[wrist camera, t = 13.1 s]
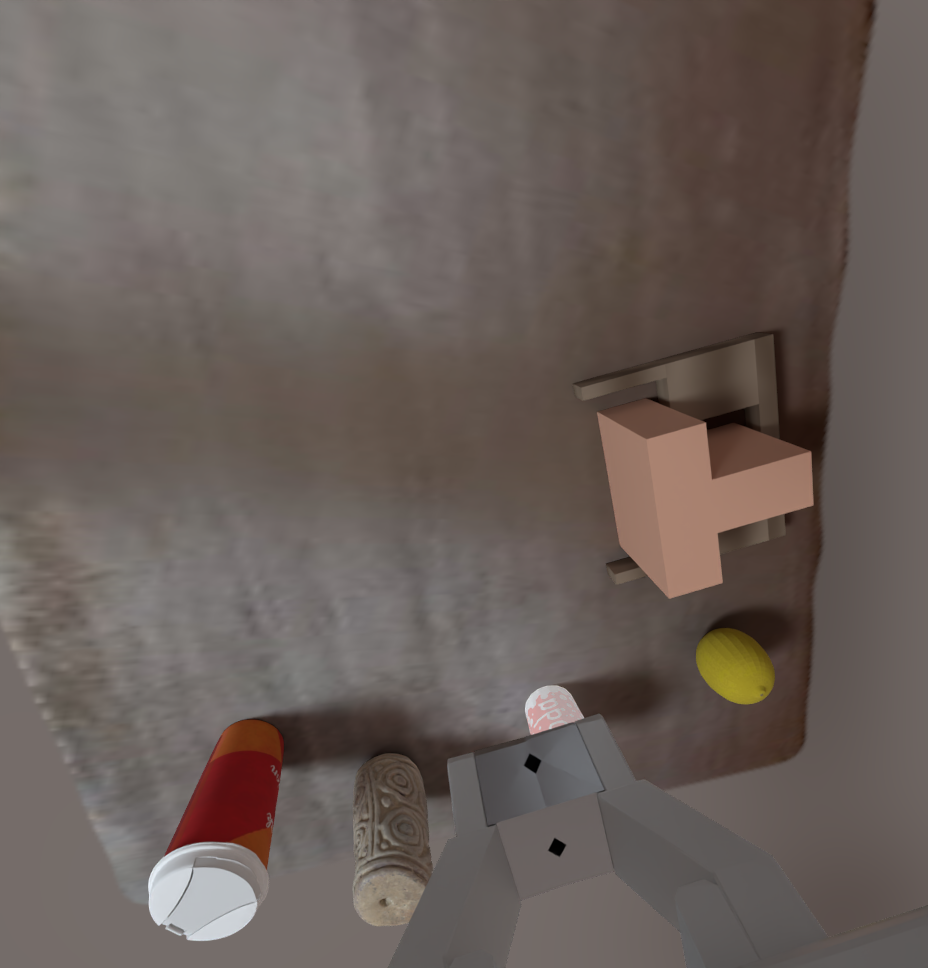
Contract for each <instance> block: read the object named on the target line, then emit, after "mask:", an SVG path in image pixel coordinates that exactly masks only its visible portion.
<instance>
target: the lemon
mask: <svg viewBox="0 0 928 968" xmlns="http://www.w3.org/2000/svg"><path fill="white" fill-rule="evenodd" d="M696 662H697V666H698V669H699V671H700V673H701V675H702V677H703V678H704V679H705V681H706V682H707V683H708V685H709V686H710V687H711V688H712V689H713V690H714V691H716V692H717V693H718V694H720V695H721V696H723V697H724V698H726V699H727V700H729V701H732V702H735V703H738V704H753V703H756V702H759V701H761V700H763V699H764V698H765V697H766V696H768V694H769V693H770V692H771V690H772V688H773V686H774V680H775V673H774V668H773V665H772V663H771V660H770V658H769V657H768V655H767V653H766V652H765V651H764V649H763V648H762V647H761V646H760V645H759V644H758V643H757V642H756V641H755V640H754V639H753V638H752V637H750V636H748V635H747V634H745V633H743V632H741V631H739V630H736V629H731V628H719V629H715V630H712V631H710V632H708V633H707V634H706V635H705V636H704V637H703V638H702V639H701V640H700V642H699V644H698V646H697V650H696Z"/></svg>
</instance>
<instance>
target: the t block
mask: <svg viewBox="0 0 928 968" xmlns="http://www.w3.org/2000/svg"><path fill="white" fill-rule="evenodd" d="M597 414H598V420H599V426H600V432H601V438H602V444H603V449H604V455H605V461H606V467H607V473H608V478H609V484H610V490H611V496H612V502H613V508H614V513H615V519H616V525H617V531H618V537H619V542H620V546H621V547H622V548H623V549H624V550H625V551H626V553H627V554H628V555H629V556H630V557H631V558H632V559H633V560H634V561H635V562H636V563H637V564H638V565H639V567H640V568H641V569H642V570H643V571H644V572H645V573H646V574H647V575H648V576H649V577H650V578H651V580H652V581H653V582H654V583H655V584H656V585H657V586H658V587H659V588H660V589H661V590H662V591H663V592H664V594H665V595H666V596H667V597H668V598H669V599H670V598H673V597H676V596H680V595H683V594H687V593H690V592H693V591H697V590H700V589H704V588H707V587H710V586H714V585H717V584H721V583H723V581H722V571H721V562H720V552H719V543H718V533H720V532H723V531H727V530H730V529H733V528H737V527H740V526H744V525H747V524H751V523H754V522H758V521H761V520H764V519H768V518H771V517H775V516H778V515H782V514H785V513H788V512H792V511H795V510H799V509H802V508H806V507H809V506H812V505H813V484H812V459H811V451H809V450H806V449H804V448H801V447H798V446H795V445H793V444H790V443H787V442H785V441H782V440H779V439H777V438H774V437H771V436H769V435H766V434H763V433H761V432H758V431H755V430H752V429H750V428H747V427H744V426H742V425H739V424H736V423H730V424H727V425H723V426H720V427H716V428H713V429H709V430H707V428H706V422H703V421H701V420H698V419H696V418H693V417H691V416H688V415H686V414H683V413H681V412H679V411H676V410H674V409H671V408H669V407H666V406H664V405H661V404H659V403H656V402H654V401H651V400H649V399H646V398H644V399H641V400H637V401H634V402H630V403H626V404H623V405H619V406H616V407H612V408H608V409H605V410H601V411H598V412H597Z"/></svg>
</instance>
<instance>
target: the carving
mask: <svg viewBox="0 0 928 968" xmlns="http://www.w3.org/2000/svg"><path fill="white" fill-rule="evenodd" d="M427 818H428V811H427V800H426V794H425V789H424V784H423V779H422V777H421V774H420V771H419V769H418V768H417V766H416V765H415V764H414V763H413V762H412V761H411V760H410V759H409V758H408V757H406V756H403V755H400V754H394V753H385V754H382V755H379V756H377V757H374V758H372V759H370V760H369V761H367V762H366V763H365V764H363V765H362V766H361V767H360V769H359V770H358V772H357V774H356V777H355V783H354V800H353V819H354V821H353V830H354V856H355V860H356V863H355V865H356V867H355V877H354V882H353V903H354V907H355V910H356V911H357V913H358V914H359V916H360V917H361V918H362V919H363V920H364V921H365V922H367V923H369V924H371V925H374V926H396V925H402V924H406V923H409V921H410V919H411V917H412V915H413V913H414V911H415V909H416V907H417V905H418V902H419V900H420V898H421V896H422V894H423V892H424V890H425V888H426V885H427V883H428V881H429V879H430V877H431V875H432V872H431V871H433V865H432V861H431V853H430V847H429V844H428V843H429V827H428V820H427Z"/></svg>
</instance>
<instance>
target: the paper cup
mask: <svg viewBox="0 0 928 968" xmlns="http://www.w3.org/2000/svg"><path fill="white" fill-rule="evenodd" d="M283 753H284V740H283V737H282V735H281V733H280V732H279V730H278V729H277V728H276V727H274V726H273V725H271V724H270V723H267V722H265V721H262V720H256V719H248V720H242V721H238V722H236V723H234V724H232V725H230V726H229V727H228V728H227V729H226V730H225V731H224V732H223V733H222V735H221V737H220V738H219V740H218V742H217V744H216V746H215V748H214V750H213V752H212V754H211V756H210V759H209V761H208V763H207V765H206V767H205V769H204V771H203V773H202V776H201V778H200V780H199V782H198V784H197V786H196V788H195V791H194V793H193V795H192V797H191V799H190V801H189V804H188V806H187V808H186V810H185V812H184V814H183V817H182V819H181V821H180V823H179V825H178V827H177V830H176V832H175V834H174V836H173V838H172V840H171V843H170V845H169V847H168V849H167V851H166V853H165V856H164V857H163V858H162V859H161V860H160V861H159V862H158V863H157V864H156V866H155V867H154V869H153V871H152V872H151V875H150V878H149V883H148V889H149V909H150V913H151V916H152V918H153V919H154V921H155V922H156V923H157V924H158V925H160V924H161V923H162V924H164V925H166V926H167V927H166V929H167V930H169V931H171V932H173V933H175V934H177V935H179V936H181V935H182V934H185V935H187V940H195V941H206V940H215V939H220V938H223V937H226V936H229V935H231V934H234V933H235V932H237V931H239V930H240V929H242V928H243V927H244V926H246V924H247V923H248V922H249V921H250V920H251V919H252V918H253V916H254V915H255V913H256V911H257V909H258V907H259V906H260V905H261V904H262V902H263V900H264V899H265V897H266V895H267V893H268V888H269V876H268V872H267V864H268V858H269V851H270V844H271V837H272V831H273V824H274V817H275V811H276V804H277V797H278V790H279V783H280V776H281V769H282V761H283Z"/></svg>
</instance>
